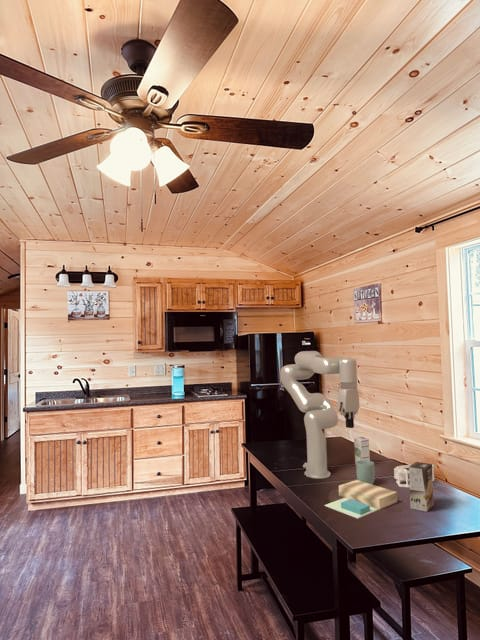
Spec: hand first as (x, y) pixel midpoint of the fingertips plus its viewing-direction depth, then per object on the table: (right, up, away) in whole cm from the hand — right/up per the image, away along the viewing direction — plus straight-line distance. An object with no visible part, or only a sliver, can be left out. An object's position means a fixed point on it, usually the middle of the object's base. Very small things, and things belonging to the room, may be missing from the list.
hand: (349, 427), depth 188 cm
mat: (-5, -26, -22) cm, 35 cm away
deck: (+4, -26, -13) cm, 30 cm away
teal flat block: (-4, -24, -24) cm, 34 cm away
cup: (+9, -27, +5) cm, 29 cm away
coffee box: (+23, -26, -22) cm, 41 cm away
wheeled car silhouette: (+32, -27, +6) cm, 42 cm away
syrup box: (+15, -29, +34) cm, 47 cm away
